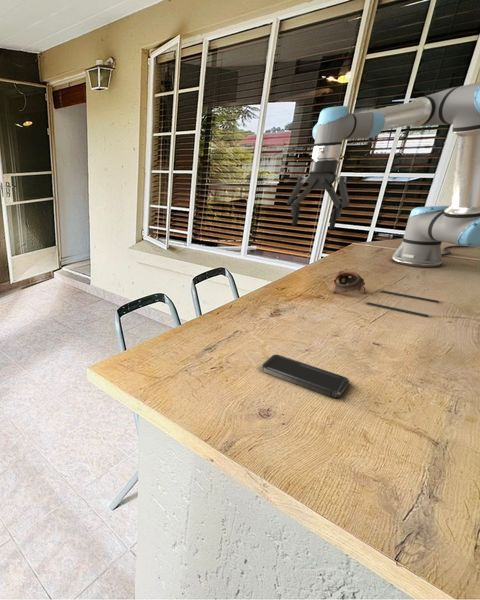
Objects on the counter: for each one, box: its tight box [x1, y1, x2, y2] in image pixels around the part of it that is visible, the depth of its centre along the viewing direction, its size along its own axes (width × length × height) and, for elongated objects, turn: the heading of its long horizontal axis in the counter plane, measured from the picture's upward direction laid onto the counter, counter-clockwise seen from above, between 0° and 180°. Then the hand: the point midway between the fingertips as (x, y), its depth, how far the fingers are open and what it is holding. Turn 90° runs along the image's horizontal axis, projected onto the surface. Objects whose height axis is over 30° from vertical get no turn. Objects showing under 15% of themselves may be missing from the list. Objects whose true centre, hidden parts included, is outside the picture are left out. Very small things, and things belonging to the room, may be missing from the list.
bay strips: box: [366, 289, 440, 318], centre depth 109 cm, size 16×14×1 cm
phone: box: [261, 354, 350, 399], centre depth 76 cm, size 8×1×15 cm
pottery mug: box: [330, 270, 366, 295], centre depth 120 cm, size 12×10×8 cm
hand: (312, 226), depth 123 cm, fingers open, 11 cm apart
